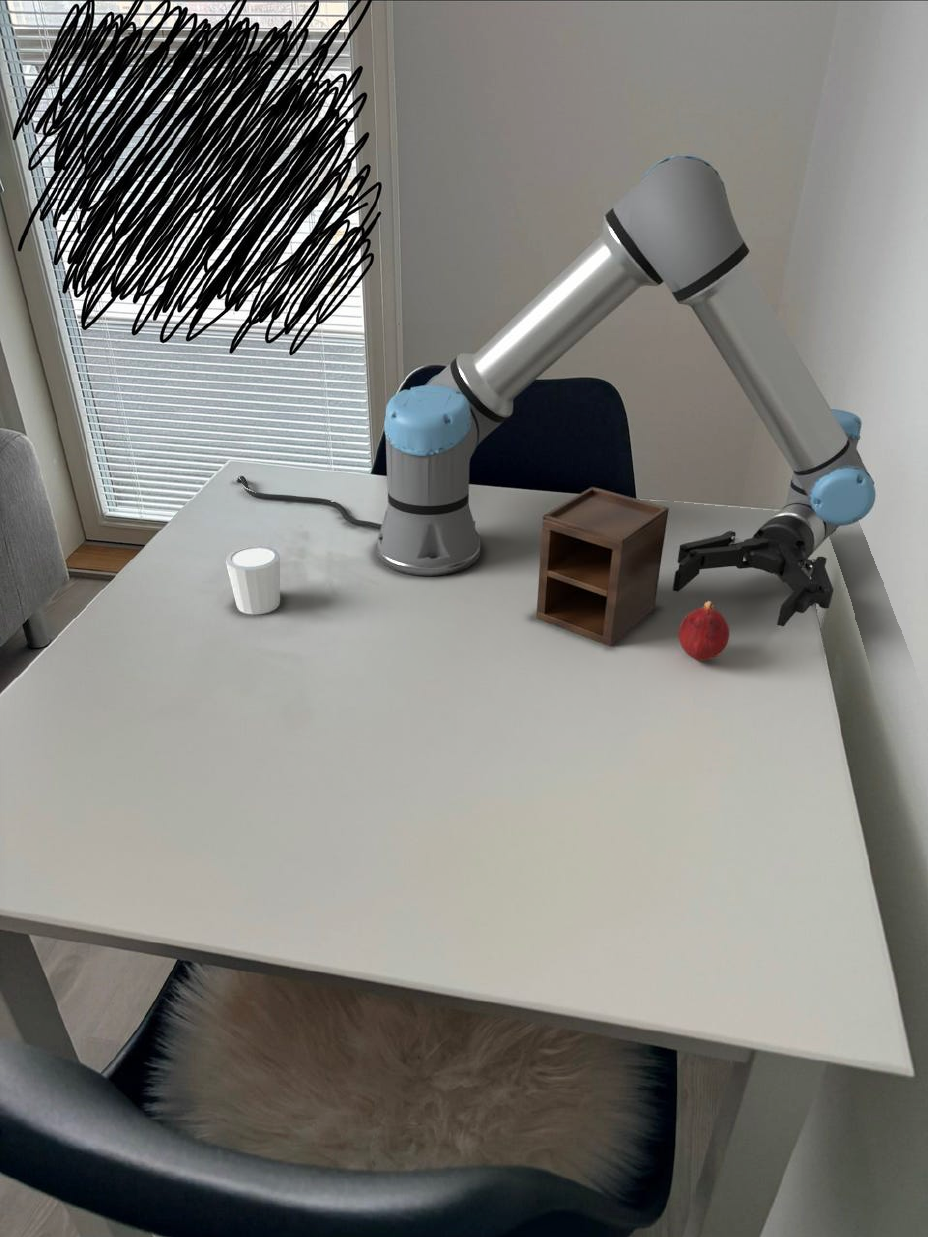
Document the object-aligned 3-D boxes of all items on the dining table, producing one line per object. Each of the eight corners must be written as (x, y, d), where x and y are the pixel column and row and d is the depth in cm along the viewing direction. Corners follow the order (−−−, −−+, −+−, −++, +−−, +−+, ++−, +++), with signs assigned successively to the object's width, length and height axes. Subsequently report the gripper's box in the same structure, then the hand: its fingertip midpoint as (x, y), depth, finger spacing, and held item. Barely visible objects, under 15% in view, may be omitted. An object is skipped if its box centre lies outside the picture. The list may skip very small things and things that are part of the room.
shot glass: (290, 592, 119) (286, 546, 116) (276, 618, 113) (271, 570, 110) (241, 589, 120) (235, 543, 116) (224, 615, 114) (217, 567, 110)
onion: (728, 674, 104) (740, 616, 100) (679, 673, 104) (689, 615, 100) (717, 647, 109) (728, 591, 105) (670, 646, 109) (679, 590, 105)
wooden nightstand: (536, 618, 114) (542, 515, 107) (583, 584, 123) (592, 486, 115) (610, 646, 109) (622, 540, 101) (654, 608, 117) (668, 507, 109)
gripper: (873, 590, 118) (823, 658, 103) (699, 539, 130) (633, 594, 116) (888, 539, 114) (838, 603, 99) (707, 492, 127) (639, 542, 112)
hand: (727, 598), depth 107 cm, fingers open, 13 cm apart
